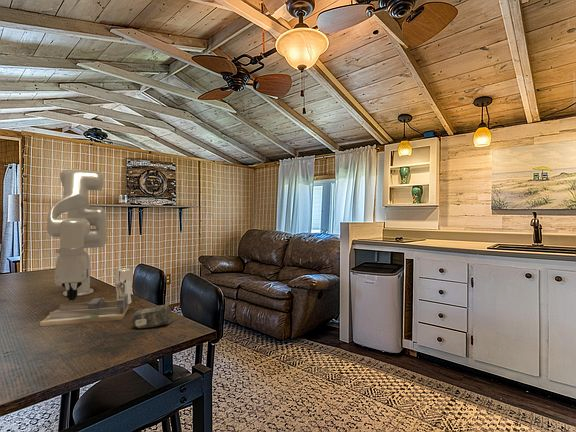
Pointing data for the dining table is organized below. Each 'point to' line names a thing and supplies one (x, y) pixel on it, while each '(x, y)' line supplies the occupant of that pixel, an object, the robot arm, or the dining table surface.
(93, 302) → the slider
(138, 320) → the stone
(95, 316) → the gauge board
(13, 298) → the dining table surface
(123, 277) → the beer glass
